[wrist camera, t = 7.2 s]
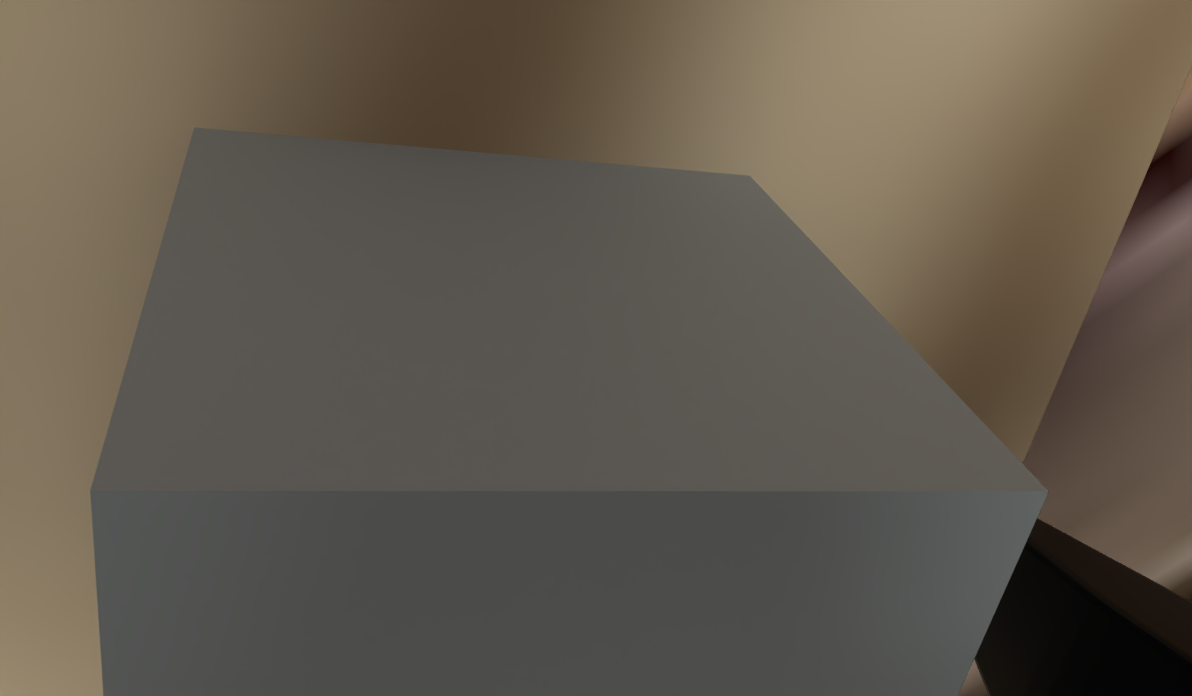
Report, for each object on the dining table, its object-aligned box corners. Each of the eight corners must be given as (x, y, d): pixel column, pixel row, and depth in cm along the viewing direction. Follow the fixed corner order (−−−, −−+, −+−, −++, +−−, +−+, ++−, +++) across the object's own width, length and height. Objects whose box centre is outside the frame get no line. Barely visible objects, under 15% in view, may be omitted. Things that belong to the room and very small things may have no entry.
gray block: (749, 175, 10) (1048, 490, 6) (650, 578, 13) (819, 1008, 8) (195, 127, 9) (89, 490, 5) (198, 587, 11) (129, 1106, 7)
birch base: (1211, -265, 11) (1330, -261, 10) (834, 729, 17) (875, 809, 16) (-550, -680, 7) (-743, -768, 6) (-181, 797, 13) (-231, 908, 12)
